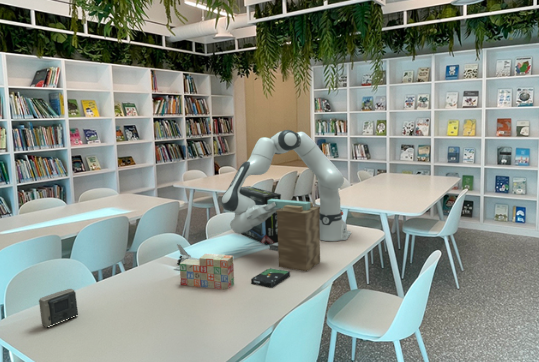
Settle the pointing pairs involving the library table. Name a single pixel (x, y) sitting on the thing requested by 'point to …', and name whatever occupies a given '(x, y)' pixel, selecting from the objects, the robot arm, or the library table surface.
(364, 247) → the library table surface
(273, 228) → the router box
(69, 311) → the camera
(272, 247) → the graphics card
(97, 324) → the library table surface
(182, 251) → the space shuttle model
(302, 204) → the batten
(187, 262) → the stack of blocks
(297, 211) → the brown tall textured block
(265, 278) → the disk drive
